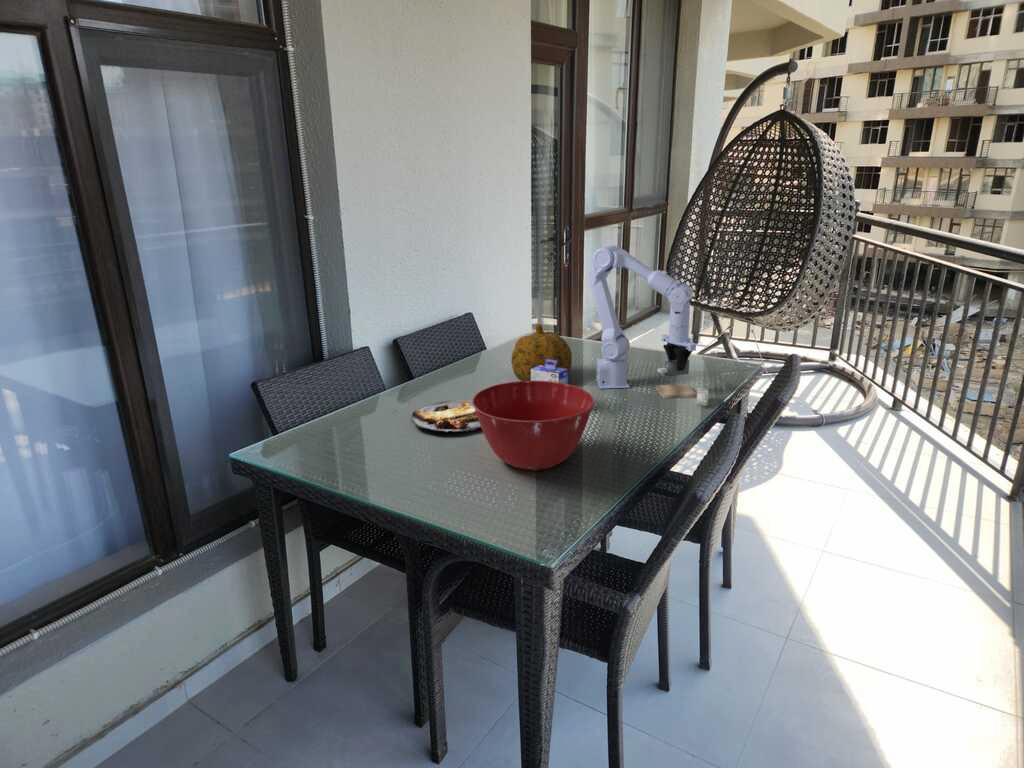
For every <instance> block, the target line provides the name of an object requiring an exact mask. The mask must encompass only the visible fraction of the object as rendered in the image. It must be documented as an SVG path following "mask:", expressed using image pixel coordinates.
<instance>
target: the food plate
mask: <svg viewBox="0 0 1024 768" xmlns="http://www.w3.org/2000/svg"><path fill="white" fill-rule="evenodd" d="M457 418H459V419H458V421H453V420H455V419H457ZM410 420H411V421H412V423H413V424H414V425H415V426H416V427H419V428H421V429H425V430H430V431H432V432H441V433H448V432H452V433H457V432H469V431H470V432H473V431H476V430H477V429H482V428H481V426H480V423H479V420H478V417H477V414H476V411H475V408H474V406H473V404H472V400H470V399H469V400H466V399H465V400H464V399H463V400H450V401H449V400H447V401H446V400H445V401H440V402H436V403H434V404H429V405H428V406H427V405H425V406H424V407H422V408H419V409H416V410H414V411H412V415H411V418H410ZM435 427H437V428H435Z"/></svg>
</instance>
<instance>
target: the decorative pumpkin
mask: <svg viewBox="0 0 1024 768" xmlns="http://www.w3.org/2000/svg"><path fill="white" fill-rule="evenodd" d="M534 328H535V332H533V333H531V334H529V335H525V336H522V337H520V338H518V339H517V341H516V342H515V344H514V345H515V346H514V349H513V350H512V354H511V360H510V361H511V366H512V371H513V373H514V375H515V376H516V378H517V379H518V380H519V381H531V369H532V368H534V367H537V366H540V365H542V366H545V363H546V360H547V359H551V360H557V364H556V368H563V369H568V373H570V371H571V368H572V364H573V362H572V360H573V355H572V354H573V353H572V350H571V348H570V346H569V345H568V343H567V342H566V341H567V340H564V338H562V337H561V336H560V335H559V334H558V333H556V332H553V331H547V332H544V330H543V325H542V324H541V323H536V324H534ZM547 364H550V365H554V363H553V362H548V363H547Z"/></svg>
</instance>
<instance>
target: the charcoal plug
mask: <svg viewBox="0 0 1024 768" xmlns="http://www.w3.org/2000/svg"><path fill="white" fill-rule="evenodd" d="M657 372H658V373H660V374H664V376H665V377H677V376H680V375H688V374H689V373H690V359H688V360H687V363H686V366H685V369H684V370H682V371H678V370H677V360H670V361H668V360H665V361H664V367H657Z"/></svg>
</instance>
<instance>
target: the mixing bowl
mask: <svg viewBox="0 0 1024 768" xmlns="http://www.w3.org/2000/svg"><path fill="white" fill-rule="evenodd" d="M471 401H472V404H473V406H474V408H475V411H476V414H477V417H478V420H479V421H478V422H479V426H481V428H480V429H481V431H482V433H483V435H484V437H485V439H486V441H487V443H488V444H489V446H490V448H491V450H492V451H493V453H494V454H495V455H496V457H498V458H499V459H500V460H501V461H503V462H504V463H506V464H508V465H510V466H511V467H514V468H516V469H520V470H525V471H542V470H548V469H551V468H554V467H555V466H557V465H558V464H559V465H560V463H562V462H565V461H566V460H567V459H568V458H569V457H570V456H571V455H572V454H573V452H574V450H575V449H576V447H577V446H578V444H579V443H580V440H581V438H582V436H583V434H584V431H585V429H586V427H587V423H588V420H589V417H590V415H591V410H592V408H593V406H594V404H595V398H594V396H593V395H592V394H591V393H590V392H589V391H587V390H585V389H583V388H581V387H579V386H575V385H572V384H569V383H568V384H565V383H559V382H551V381H521V380H519V381H518V380H517V381H511V382H510V381H509V382H504V383H503V382H502V383H499V384H494V385H491V386H489V387H486V388H483V389H482V390H479V392H477V393H476V394H475V395H474V396H473V398H472V400H471Z"/></svg>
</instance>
